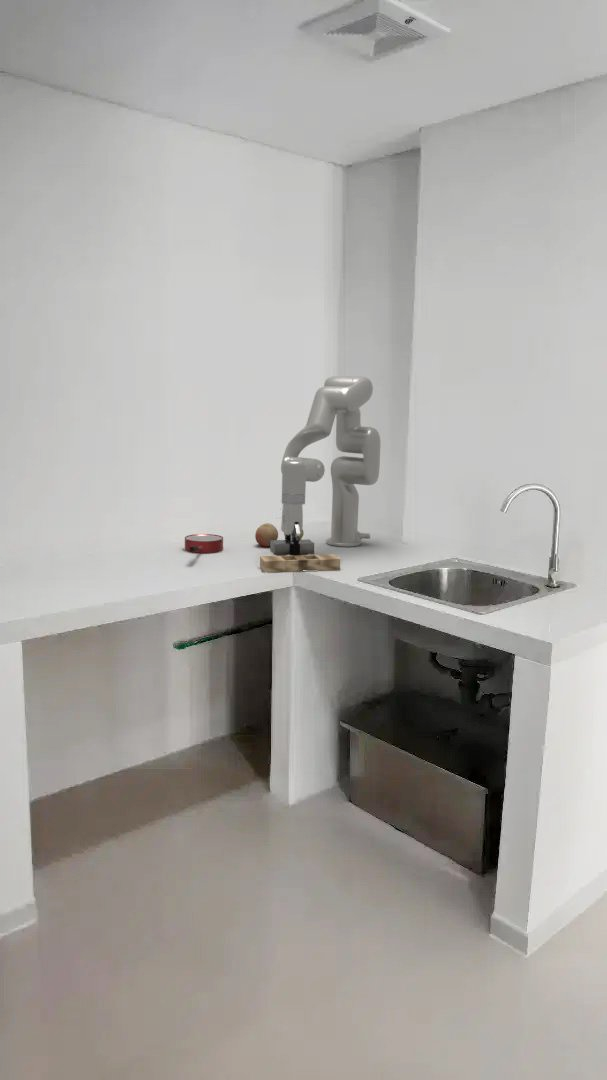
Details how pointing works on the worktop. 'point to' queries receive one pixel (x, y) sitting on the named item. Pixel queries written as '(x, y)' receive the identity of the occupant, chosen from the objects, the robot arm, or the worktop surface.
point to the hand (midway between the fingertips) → (292, 553)
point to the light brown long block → (299, 563)
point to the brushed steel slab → (284, 547)
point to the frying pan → (203, 543)
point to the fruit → (266, 534)
